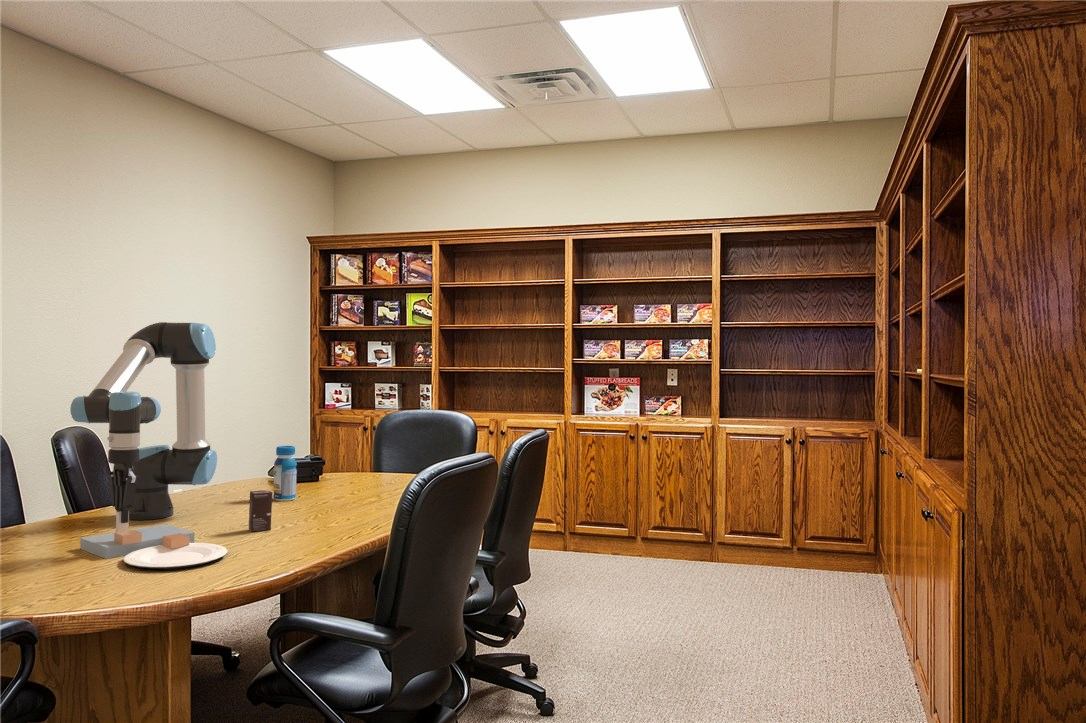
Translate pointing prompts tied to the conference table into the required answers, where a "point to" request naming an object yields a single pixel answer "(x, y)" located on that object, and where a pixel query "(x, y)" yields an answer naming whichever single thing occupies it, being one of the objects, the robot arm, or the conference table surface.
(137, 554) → the plate
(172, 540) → the tile
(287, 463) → the beverage bottle
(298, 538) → the conference table surface
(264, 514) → the box
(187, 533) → the board
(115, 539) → the tile
